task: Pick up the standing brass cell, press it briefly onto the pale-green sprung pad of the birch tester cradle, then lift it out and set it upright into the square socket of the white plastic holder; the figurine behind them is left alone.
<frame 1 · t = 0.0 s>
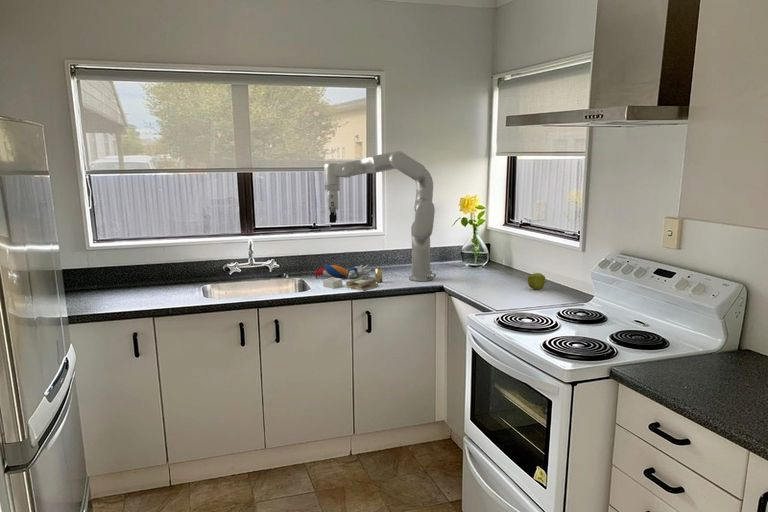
hand: (333, 221, 289), 31 cm above the worktop, tool pointing down, fingers open, 9 cm apart
holder: (332, 286, 283), on the worktop
brass cell: (378, 282, 291), on the worktop
figurine: (344, 278, 302), on the worktop
tester base: (361, 286, 281), on the worktop
tester pad: (361, 281, 281), point 3 cm above the worktop, slide at 0.0 cm
apple: (536, 289, 271), on the worktop
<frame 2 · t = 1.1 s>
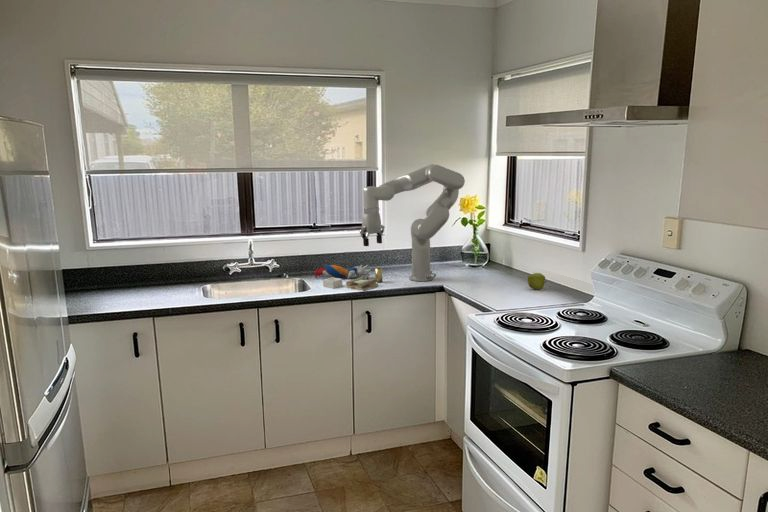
hand: (372, 244, 288), 19 cm above the worktop, tool pointing down, fingers open, 9 cm apart
nothing on the worktop moved.
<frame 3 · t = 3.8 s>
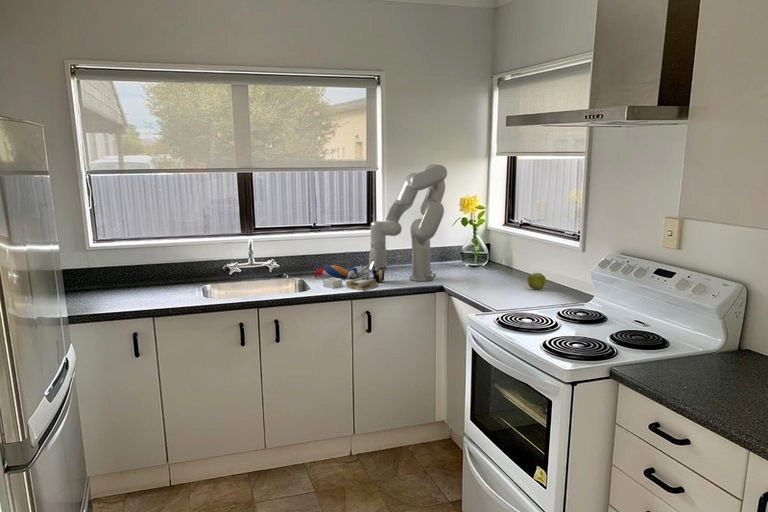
hand: (378, 280, 291), 1 cm above the worktop, tool pointing down, fingers closed on brass cell, 3 cm apart
brass cell: (378, 282, 291), on the worktop, touching gripper
everything else where it was.
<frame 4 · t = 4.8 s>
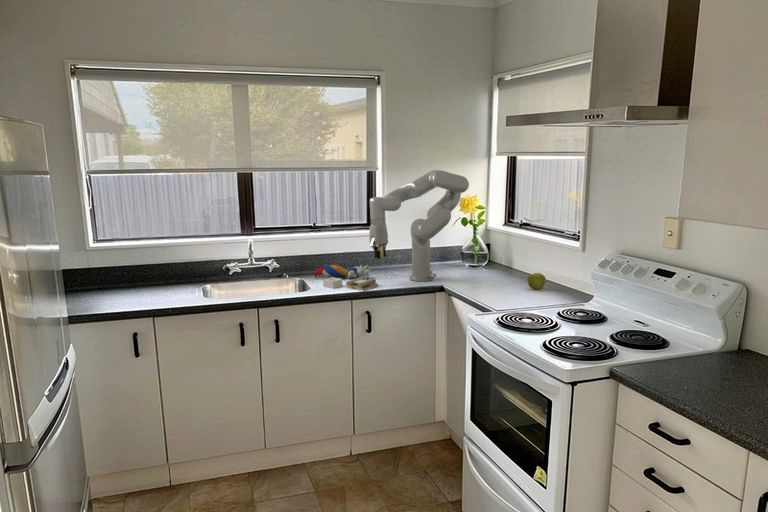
hand: (380, 257, 289), 13 cm above the worktop, tool pointing down, fingers closed on brass cell, 3 cm apart
brass cell: (380, 258, 289), point 12 cm above the worktop, touching gripper
everything else where it was.
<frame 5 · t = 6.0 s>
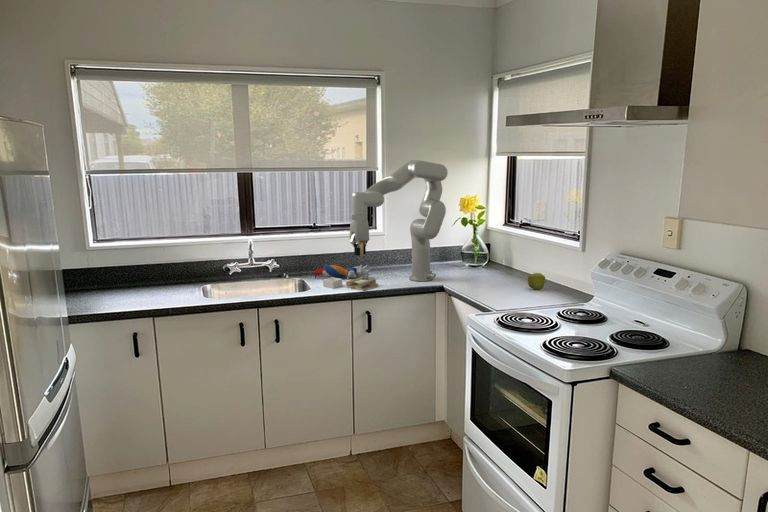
hand: (360, 254, 278), 16 cm above the worktop, tool pointing down, fingers closed on brass cell, 3 cm apart
brass cell: (359, 255, 278), point 16 cm above the worktop, touching gripper
everything else where it was.
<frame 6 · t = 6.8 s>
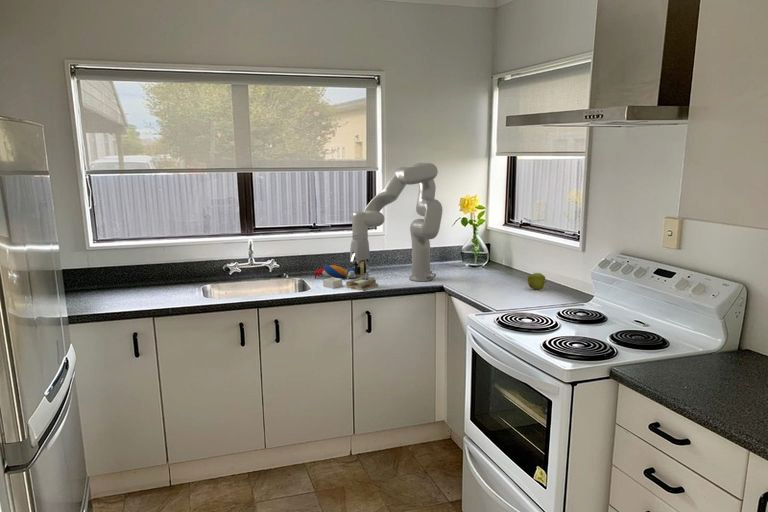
hand: (360, 273, 280), 7 cm above the worktop, tool pointing down, fingers closed on brass cell, 3 cm apart
brass cell: (360, 274, 280), point 6 cm above the worktop, touching gripper
everything else where it was.
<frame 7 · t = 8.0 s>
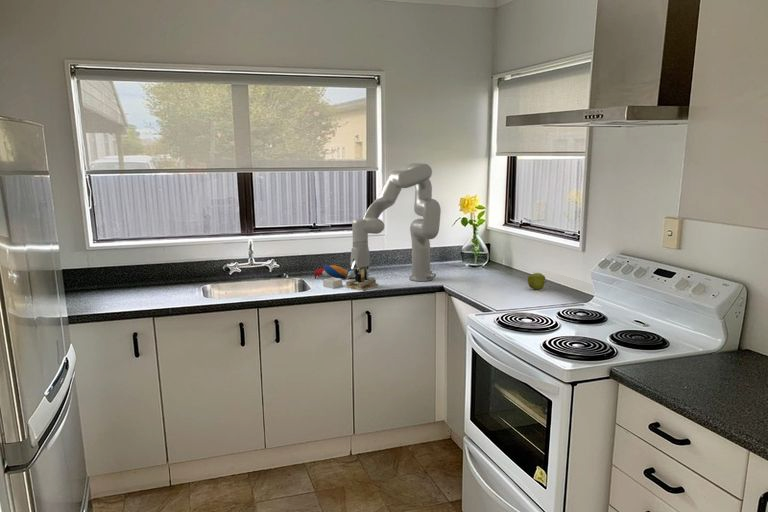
hand: (361, 280, 281), 3 cm above the worktop, tool pointing down, fingers closed on brass cell, 3 cm apart
brass cell: (361, 282, 281), point 2 cm above the worktop, touching gripper, tester pad
tester pad: (361, 282, 281), point 2 cm above the worktop, slide at -0.4 cm, touching brass cell
everything else where it was.
when the fingers open (4 cm above the worktop, at t = 12.6 s): brass cell drops 2 cm, resting on holder.
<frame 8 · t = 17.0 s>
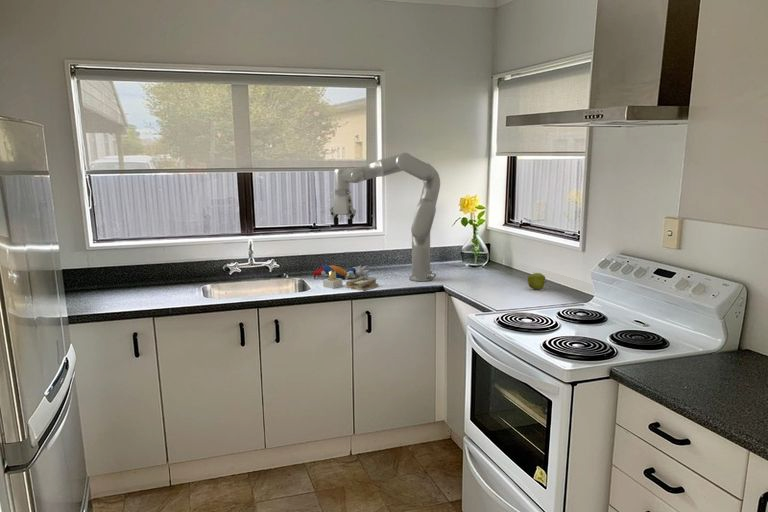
hand: (343, 225, 295), 28 cm above the worktop, tool pointing down, fingers open, 9 cm apart
brass cell: (332, 285, 283), point 1 cm above the worktop, touching holder
tester pad: (361, 282, 281), point 2 cm above the worktop, slide at -0.4 cm
at the end: brass cell 0.1 cm off-centre on the holder, point 0.5 cm above the holder's base; brass cell tilted 1°; the gripper is holding nothing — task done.
